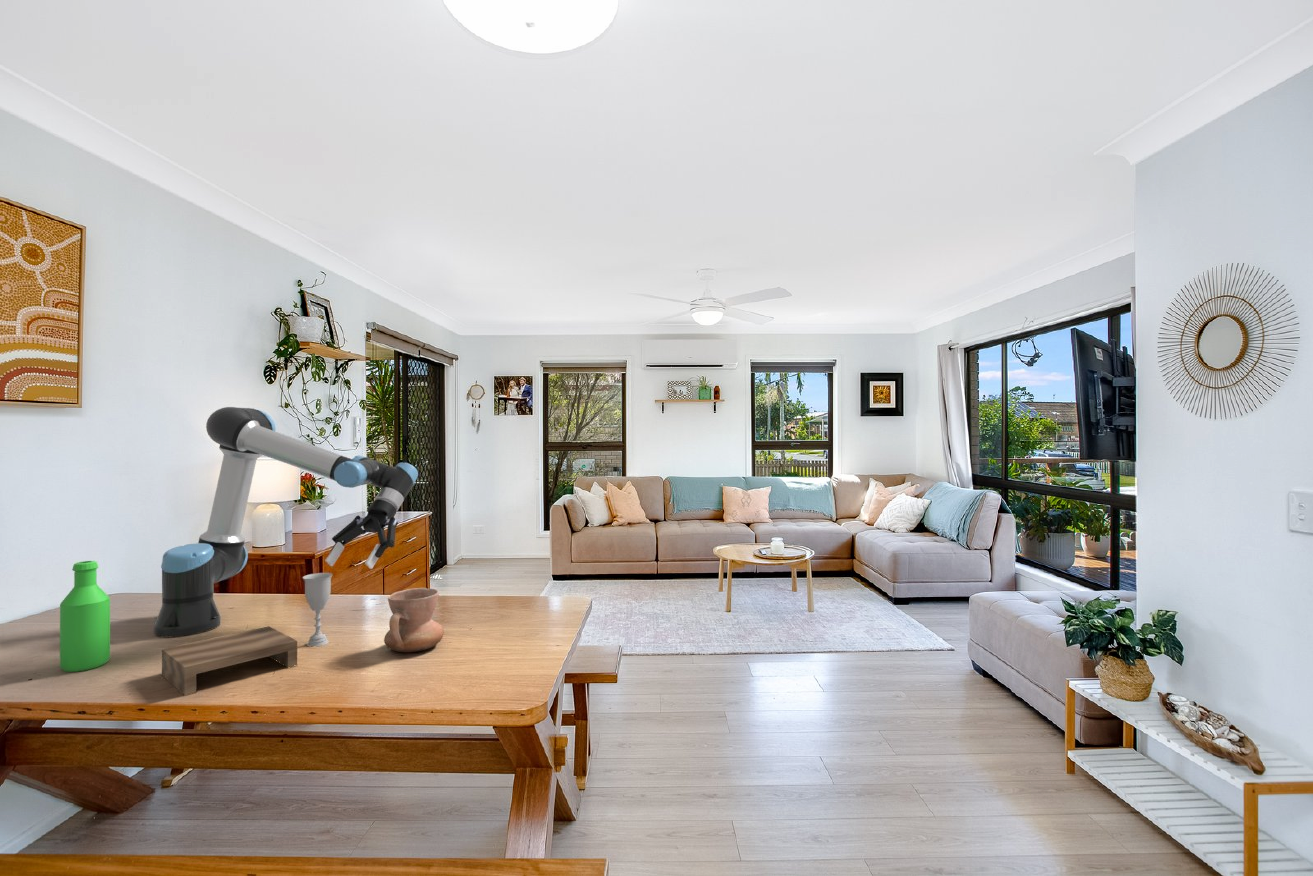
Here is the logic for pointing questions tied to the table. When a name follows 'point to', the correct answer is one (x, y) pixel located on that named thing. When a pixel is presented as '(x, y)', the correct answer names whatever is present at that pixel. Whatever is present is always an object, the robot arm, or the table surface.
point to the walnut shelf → (224, 654)
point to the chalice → (317, 601)
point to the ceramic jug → (413, 620)
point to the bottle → (84, 622)
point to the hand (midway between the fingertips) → (348, 565)
